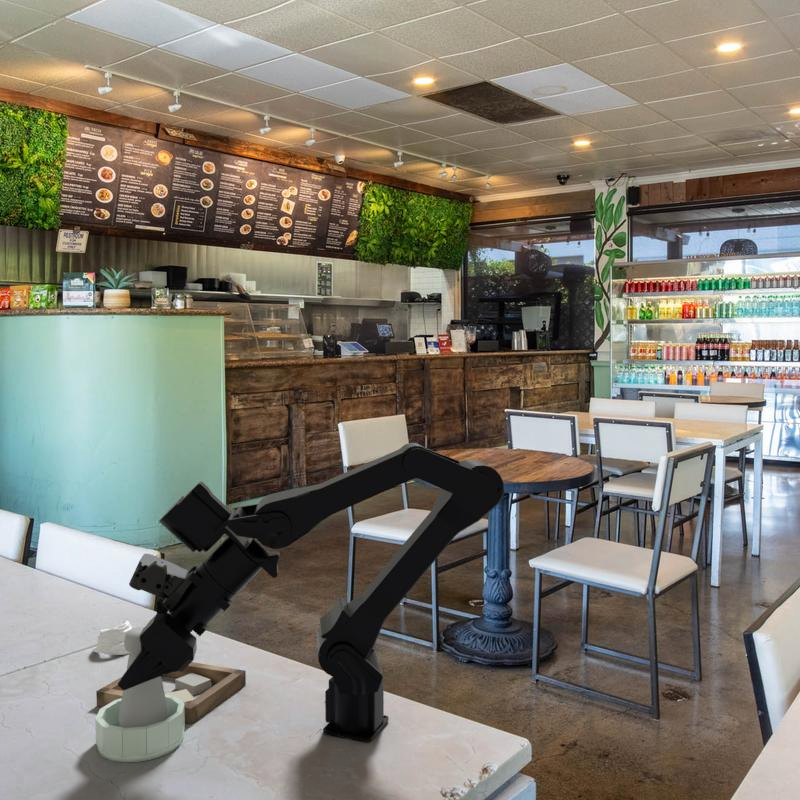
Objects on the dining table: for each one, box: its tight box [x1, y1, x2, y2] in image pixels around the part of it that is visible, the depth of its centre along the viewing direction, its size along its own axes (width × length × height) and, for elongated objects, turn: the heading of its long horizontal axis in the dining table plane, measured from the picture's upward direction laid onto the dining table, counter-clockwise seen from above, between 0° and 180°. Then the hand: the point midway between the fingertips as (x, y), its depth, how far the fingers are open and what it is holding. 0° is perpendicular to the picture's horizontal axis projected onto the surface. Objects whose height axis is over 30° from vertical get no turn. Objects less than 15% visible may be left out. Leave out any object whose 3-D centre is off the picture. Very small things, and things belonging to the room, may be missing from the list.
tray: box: [96, 661, 247, 725], centre depth 111 cm, size 15×13×2 cm
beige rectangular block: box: [165, 689, 196, 703], centre depth 107 cm, size 4×3×2 cm
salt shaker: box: [118, 625, 168, 728], centre depth 97 cm, size 6×6×13 cm
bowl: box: [94, 693, 186, 763], centre depth 97 cm, size 10×10×4 cm
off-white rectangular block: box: [174, 673, 212, 696], centre depth 113 cm, size 4×3×2 cm
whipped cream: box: [92, 620, 133, 656], centre depth 127 cm, size 8×7×5 cm
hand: (128, 671), depth 97 cm, fingers open, 9 cm apart
